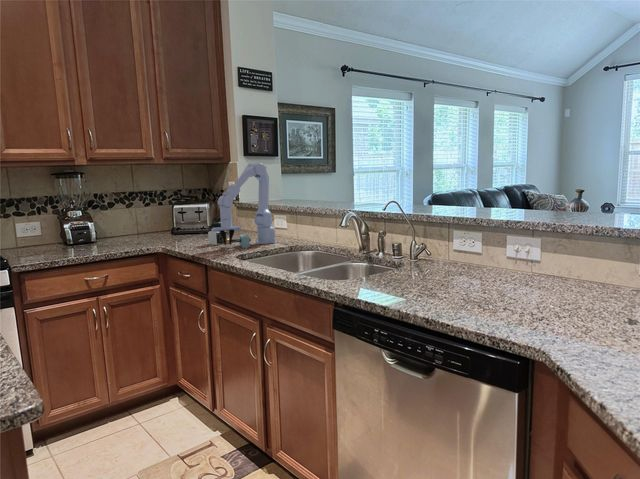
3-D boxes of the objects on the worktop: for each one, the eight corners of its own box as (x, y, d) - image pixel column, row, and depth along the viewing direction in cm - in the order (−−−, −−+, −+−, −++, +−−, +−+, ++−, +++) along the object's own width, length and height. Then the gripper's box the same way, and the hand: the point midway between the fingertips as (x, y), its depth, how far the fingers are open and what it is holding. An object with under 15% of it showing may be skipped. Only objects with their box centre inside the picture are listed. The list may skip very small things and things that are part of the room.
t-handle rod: (250, 240, 254) (249, 235, 253) (252, 243, 245) (251, 238, 244) (224, 242, 250) (224, 237, 250) (226, 245, 241) (225, 240, 241)
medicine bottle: (217, 245, 254) (215, 223, 252) (208, 244, 258) (207, 223, 256) (227, 243, 259) (225, 222, 257) (218, 242, 264) (217, 221, 261)
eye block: (247, 244, 254) (246, 234, 253) (249, 247, 244) (249, 237, 243) (240, 244, 253) (239, 234, 252) (242, 248, 243) (241, 237, 242)
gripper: (239, 217, 246) (241, 242, 249) (211, 218, 243) (213, 244, 245) (240, 218, 240) (242, 244, 242) (212, 220, 236) (213, 246, 238)
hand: (227, 244), depth 243 cm, fingers closed on t-handle rod, 2 cm apart
